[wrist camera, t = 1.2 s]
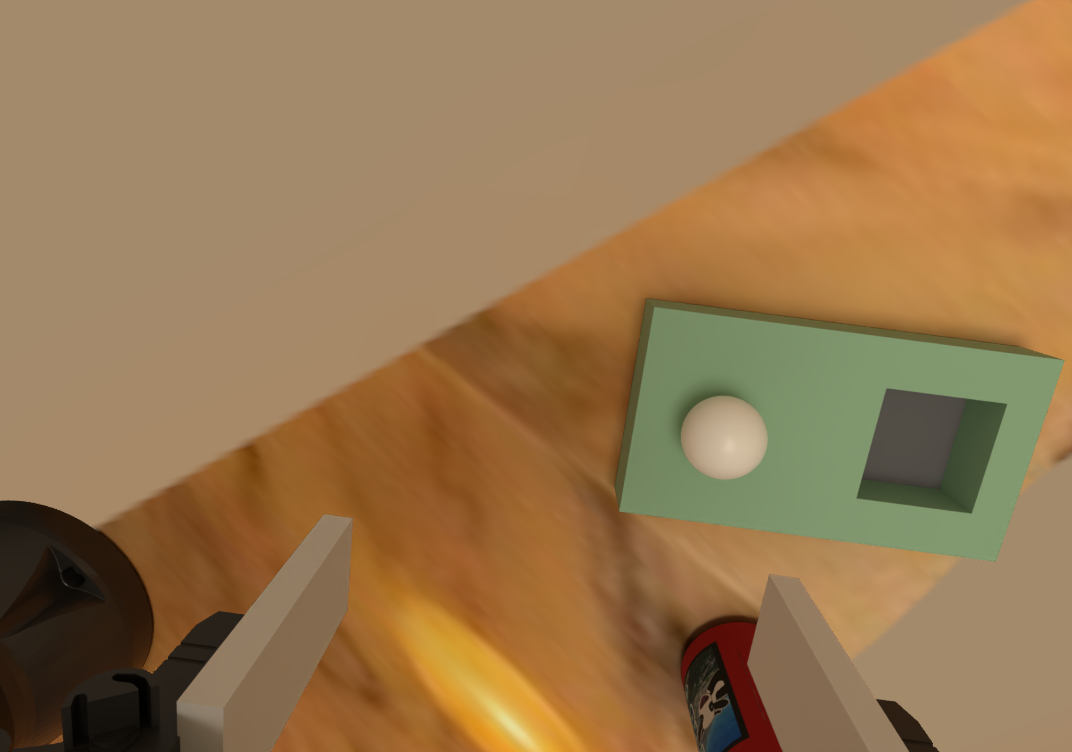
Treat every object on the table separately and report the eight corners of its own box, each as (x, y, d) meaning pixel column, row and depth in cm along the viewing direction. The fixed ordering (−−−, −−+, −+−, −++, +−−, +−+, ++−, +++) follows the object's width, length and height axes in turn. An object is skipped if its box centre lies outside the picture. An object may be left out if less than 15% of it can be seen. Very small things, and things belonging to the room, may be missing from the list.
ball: (668, 455, 33) (681, 487, 30) (682, 381, 32) (698, 404, 28) (745, 465, 33) (768, 498, 29) (761, 391, 32) (788, 416, 28)
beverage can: (664, 629, 40) (706, 803, 28) (773, 600, 39) (862, 767, 27) (694, 717, 41) (745, 917, 30) (799, 691, 40) (895, 887, 29)
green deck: (614, 486, 37) (619, 511, 34) (646, 298, 35) (654, 307, 32) (959, 532, 37) (995, 561, 34) (1019, 346, 34) (1064, 360, 31)
